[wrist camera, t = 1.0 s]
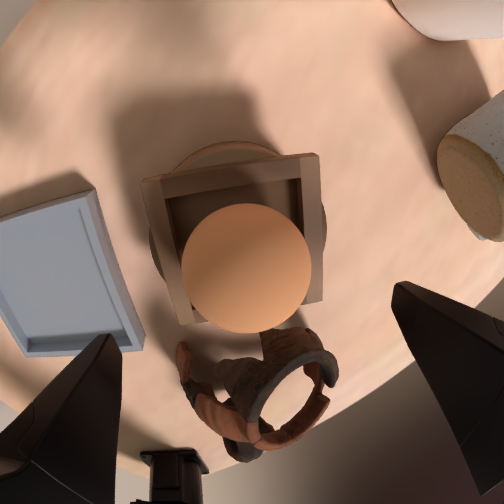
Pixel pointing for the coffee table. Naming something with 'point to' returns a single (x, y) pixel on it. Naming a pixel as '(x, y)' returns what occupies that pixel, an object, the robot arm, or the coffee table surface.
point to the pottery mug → (261, 391)
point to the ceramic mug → (476, 169)
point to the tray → (63, 279)
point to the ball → (246, 268)
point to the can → (455, 18)
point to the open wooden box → (230, 193)
